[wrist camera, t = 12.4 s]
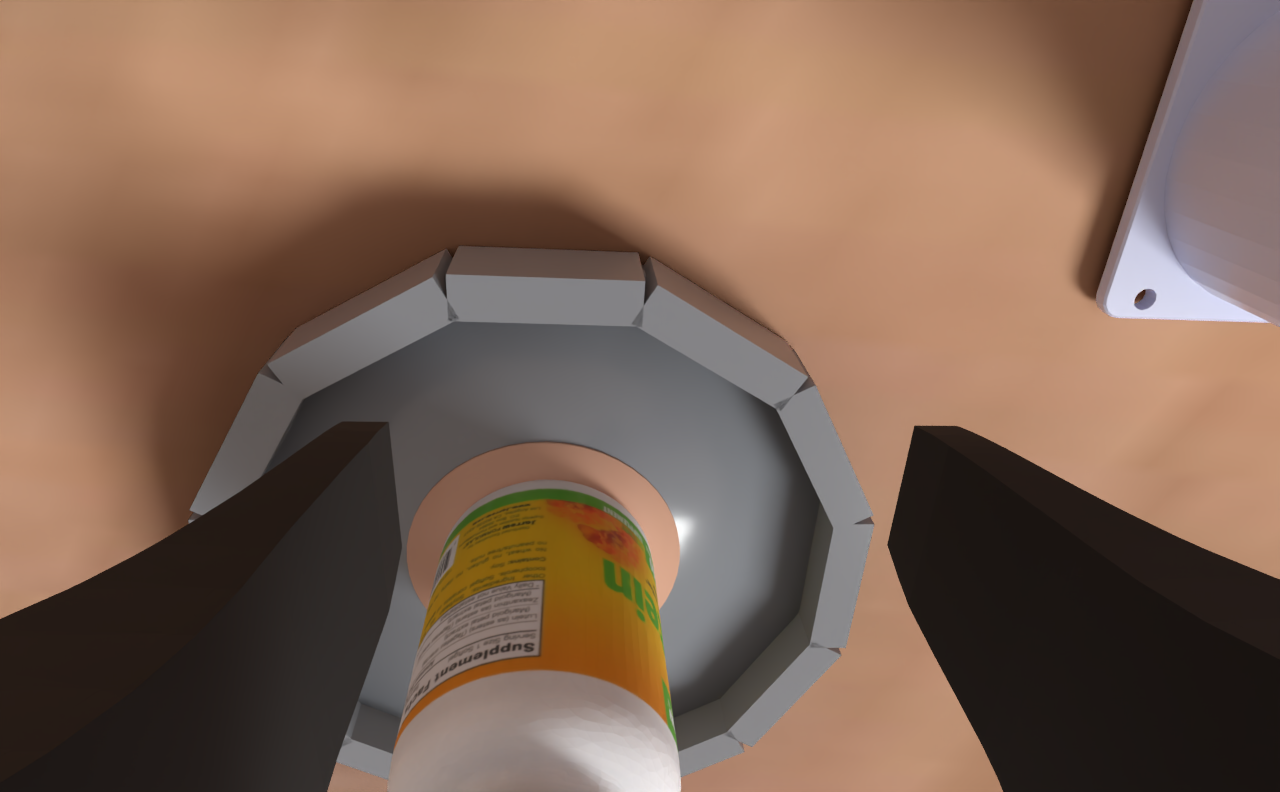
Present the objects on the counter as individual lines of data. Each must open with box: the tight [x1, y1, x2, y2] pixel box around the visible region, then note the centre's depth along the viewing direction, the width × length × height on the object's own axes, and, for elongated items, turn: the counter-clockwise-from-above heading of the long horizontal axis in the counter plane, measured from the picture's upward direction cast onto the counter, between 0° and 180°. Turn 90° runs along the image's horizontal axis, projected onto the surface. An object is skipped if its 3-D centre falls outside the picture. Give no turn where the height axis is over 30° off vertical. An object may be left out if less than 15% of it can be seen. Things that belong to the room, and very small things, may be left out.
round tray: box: [188, 246, 874, 780], centre depth 21 cm, size 16×16×2 cm
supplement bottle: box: [387, 480, 681, 792], centre depth 17 cm, size 5×5×10 cm
